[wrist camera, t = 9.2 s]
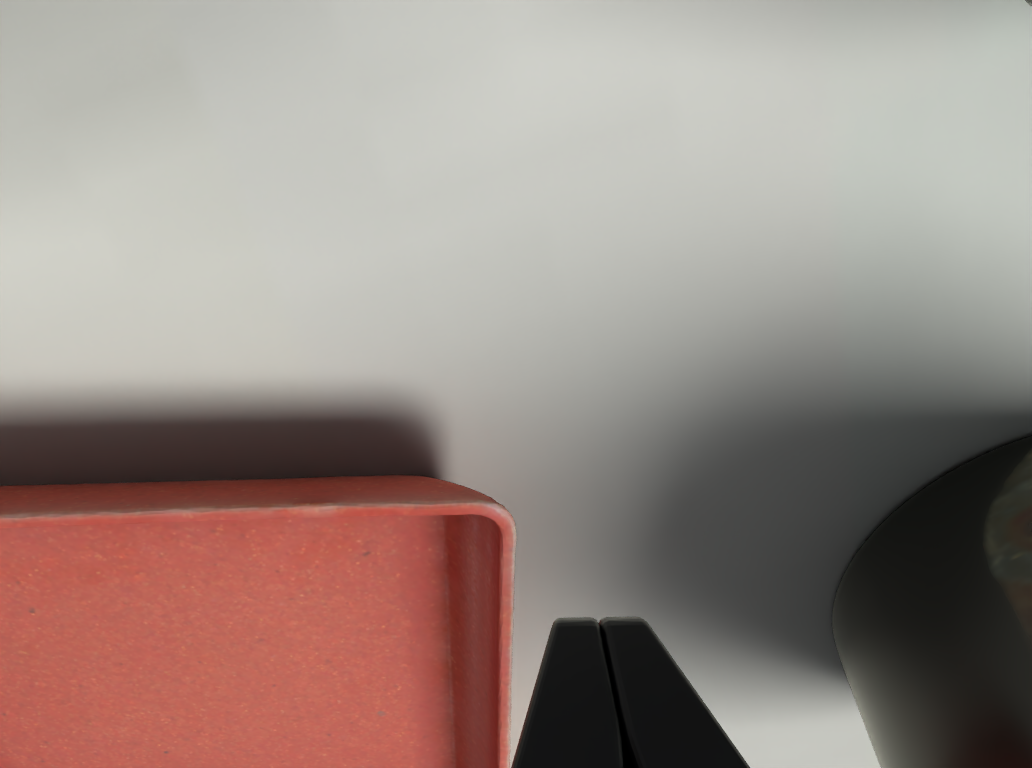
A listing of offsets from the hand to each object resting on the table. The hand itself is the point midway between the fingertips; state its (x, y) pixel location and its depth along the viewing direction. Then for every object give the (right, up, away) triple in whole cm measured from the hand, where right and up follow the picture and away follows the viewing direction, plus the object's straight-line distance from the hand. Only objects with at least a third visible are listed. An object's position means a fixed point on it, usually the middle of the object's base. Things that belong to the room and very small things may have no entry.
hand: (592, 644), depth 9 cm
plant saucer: (-10, -5, +19) cm, 22 cm away
